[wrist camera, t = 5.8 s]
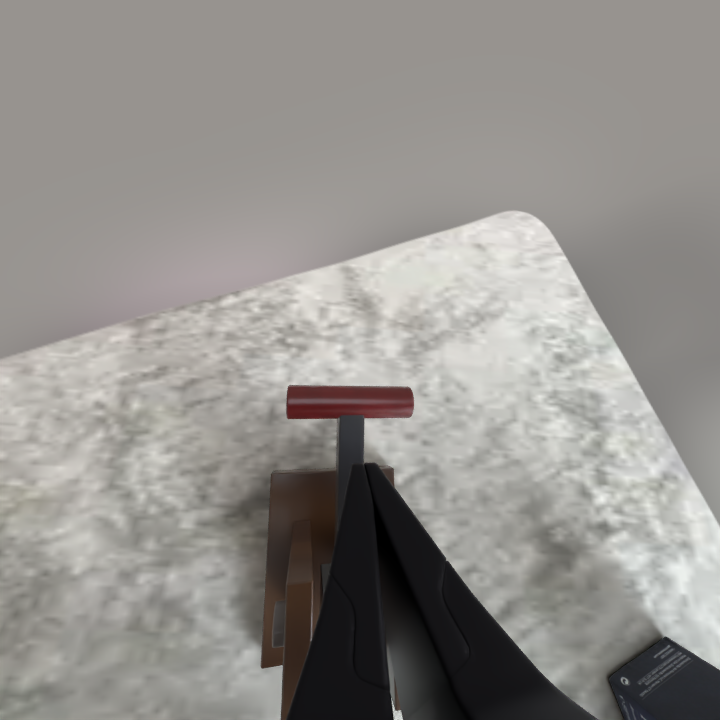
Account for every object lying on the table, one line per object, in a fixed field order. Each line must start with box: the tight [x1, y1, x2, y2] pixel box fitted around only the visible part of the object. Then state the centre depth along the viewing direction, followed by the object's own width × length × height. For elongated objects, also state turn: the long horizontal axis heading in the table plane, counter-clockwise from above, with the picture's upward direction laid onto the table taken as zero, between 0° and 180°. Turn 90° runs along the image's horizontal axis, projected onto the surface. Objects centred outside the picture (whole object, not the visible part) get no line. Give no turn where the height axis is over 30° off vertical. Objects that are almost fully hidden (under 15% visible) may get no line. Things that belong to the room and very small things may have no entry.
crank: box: [286, 385, 414, 613], centre depth 12 cm, size 11×6×2 cm, turn 1°
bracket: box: [261, 466, 401, 720], centre depth 14 cm, size 10×8×8 cm
